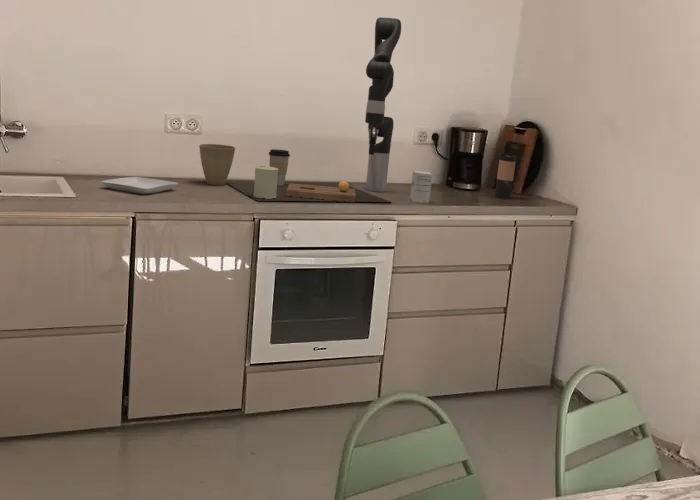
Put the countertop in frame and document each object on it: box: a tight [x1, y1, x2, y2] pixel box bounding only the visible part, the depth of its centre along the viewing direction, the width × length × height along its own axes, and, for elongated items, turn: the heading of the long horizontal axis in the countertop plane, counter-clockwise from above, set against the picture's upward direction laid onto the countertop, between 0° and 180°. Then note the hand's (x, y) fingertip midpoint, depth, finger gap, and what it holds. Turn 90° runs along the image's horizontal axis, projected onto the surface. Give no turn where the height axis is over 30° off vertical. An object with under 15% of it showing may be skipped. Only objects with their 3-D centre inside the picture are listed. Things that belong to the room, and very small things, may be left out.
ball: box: [337, 180, 350, 192], centre depth 331 cm, size 4×4×4 cm
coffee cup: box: [268, 148, 291, 187], centre depth 349 cm, size 9×9×15 cm
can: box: [252, 165, 278, 200], centre depth 314 cm, size 9×9×12 cm
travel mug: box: [494, 153, 517, 199], centre depth 375 cm, size 8×8×20 cm
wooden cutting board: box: [285, 183, 357, 203], centre depth 331 cm, size 20×28×2 cm
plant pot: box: [199, 143, 236, 186], centre depth 334 cm, size 15×15×16 cm
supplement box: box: [409, 170, 433, 204], centre depth 340 cm, size 7×7×13 cm
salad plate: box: [101, 176, 179, 195], centre depth 305 cm, size 21×21×3 cm
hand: (371, 154), depth 328 cm, fingers closed
